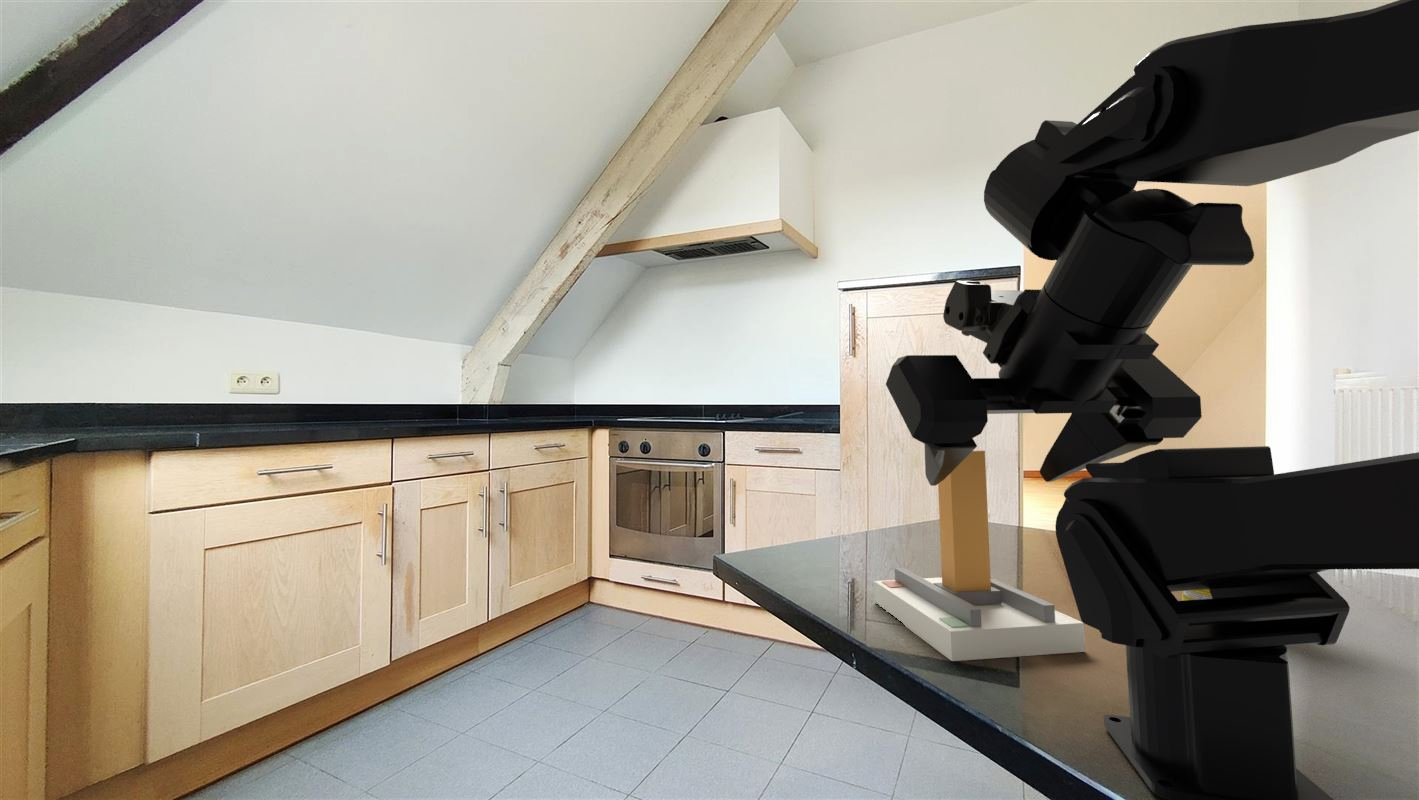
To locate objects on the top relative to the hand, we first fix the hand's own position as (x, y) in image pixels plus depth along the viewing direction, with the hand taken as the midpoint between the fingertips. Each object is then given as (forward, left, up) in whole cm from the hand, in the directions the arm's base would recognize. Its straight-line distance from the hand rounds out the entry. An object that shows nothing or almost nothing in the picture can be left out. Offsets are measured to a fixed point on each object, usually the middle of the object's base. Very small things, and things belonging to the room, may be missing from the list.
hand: (988, 479), depth 42 cm
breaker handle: (+3, +1, -10) cm, 11 cm away
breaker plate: (+4, +2, -12) cm, 13 cm away
